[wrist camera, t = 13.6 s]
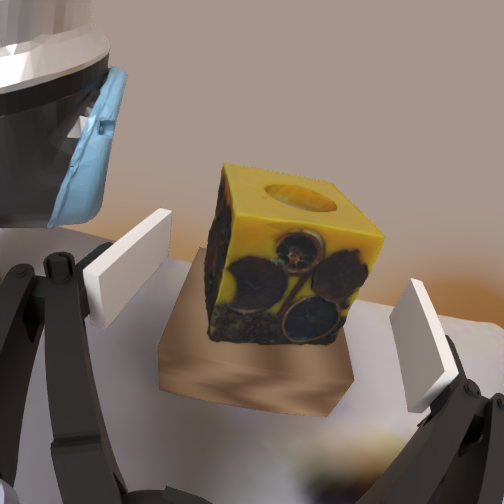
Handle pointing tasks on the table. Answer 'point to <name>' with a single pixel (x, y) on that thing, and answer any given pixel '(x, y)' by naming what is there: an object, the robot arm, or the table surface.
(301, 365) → the wooden box
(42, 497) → the table surface
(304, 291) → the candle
